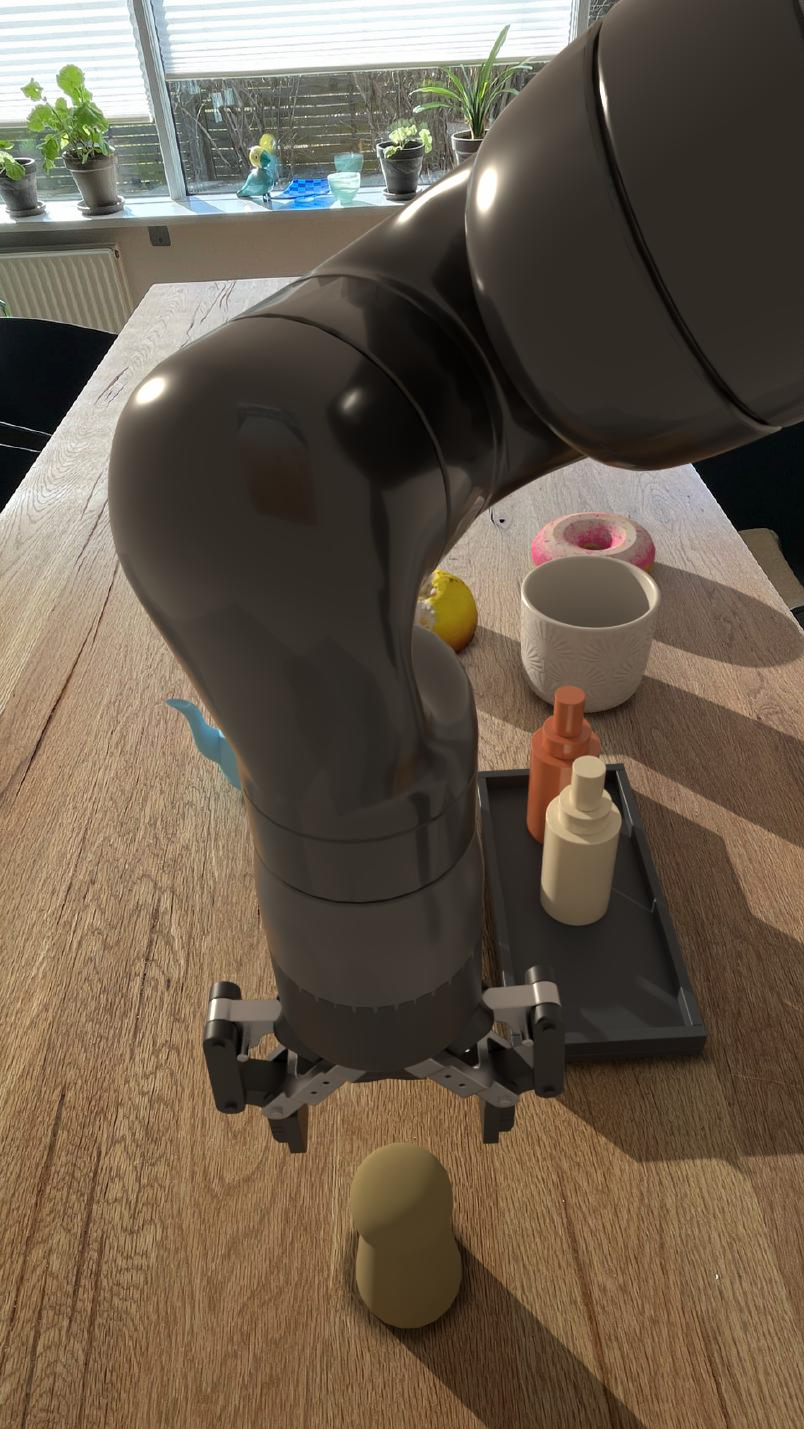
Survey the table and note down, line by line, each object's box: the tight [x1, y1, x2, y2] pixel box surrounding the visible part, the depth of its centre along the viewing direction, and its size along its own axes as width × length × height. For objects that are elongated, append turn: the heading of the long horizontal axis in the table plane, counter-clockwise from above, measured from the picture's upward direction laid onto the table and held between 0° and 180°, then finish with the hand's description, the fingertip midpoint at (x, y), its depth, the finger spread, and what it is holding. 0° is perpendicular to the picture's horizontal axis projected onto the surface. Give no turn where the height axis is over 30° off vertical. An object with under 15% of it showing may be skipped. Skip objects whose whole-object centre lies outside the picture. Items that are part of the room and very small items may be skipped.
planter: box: [520, 555, 662, 714], centre depth 89 cm, size 12×12×11 cm
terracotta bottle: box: [526, 686, 602, 845], centre depth 73 cm, size 5×5×14 cm
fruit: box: [414, 568, 479, 655], centre depth 98 cm, size 11×10×8 cm
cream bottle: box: [540, 756, 622, 926], centre depth 67 cm, size 5×5×14 cm
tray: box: [477, 762, 708, 1063], centre depth 72 cm, size 26×13×2 cm, turn 2°
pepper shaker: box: [349, 1141, 463, 1329], centre depth 50 cm, size 6×6×11 cm
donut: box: [531, 511, 656, 574], centre depth 106 cm, size 14×13×5 cm
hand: (394, 1128), depth 43 cm, fingers open, 8 cm apart
